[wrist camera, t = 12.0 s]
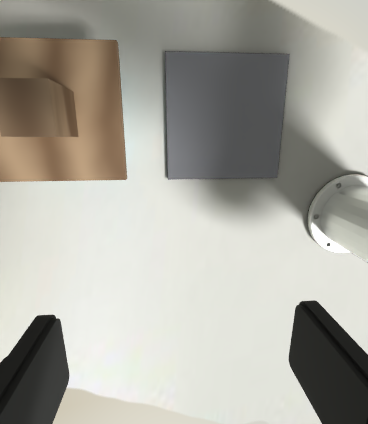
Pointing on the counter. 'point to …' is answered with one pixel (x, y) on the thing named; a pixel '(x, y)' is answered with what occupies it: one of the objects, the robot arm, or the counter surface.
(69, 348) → the counter surface
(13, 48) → the lid
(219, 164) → the mat
